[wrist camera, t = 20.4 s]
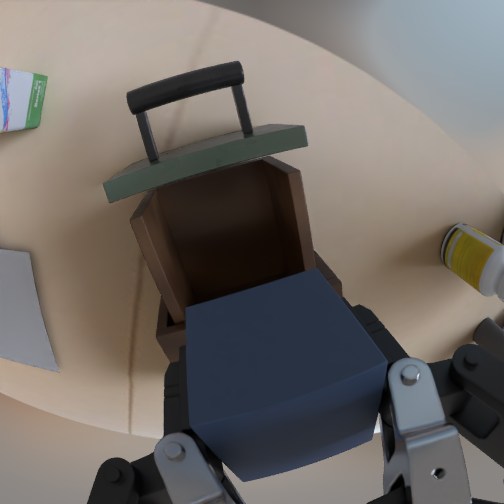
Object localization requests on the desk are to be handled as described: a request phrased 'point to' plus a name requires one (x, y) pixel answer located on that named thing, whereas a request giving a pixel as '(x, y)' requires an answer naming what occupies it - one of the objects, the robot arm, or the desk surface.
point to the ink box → (20, 99)
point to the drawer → (215, 200)
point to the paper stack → (22, 314)
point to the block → (281, 376)
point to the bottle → (490, 338)
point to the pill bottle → (475, 259)
